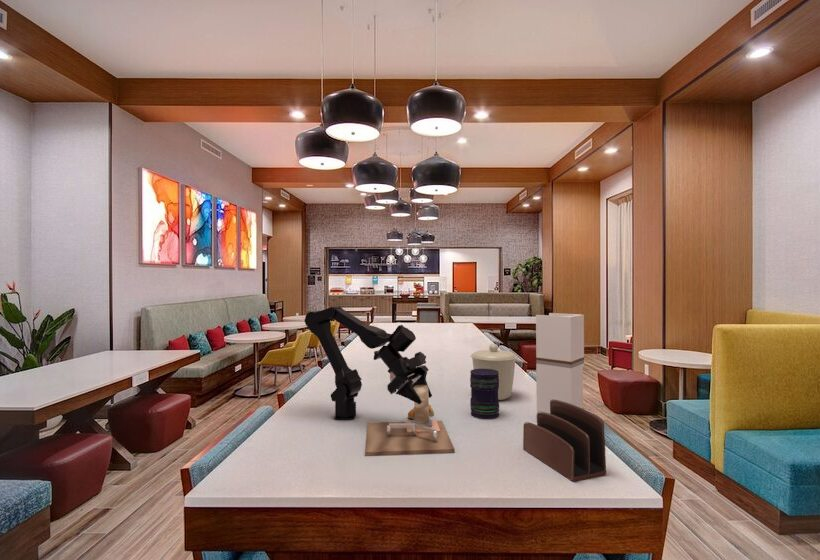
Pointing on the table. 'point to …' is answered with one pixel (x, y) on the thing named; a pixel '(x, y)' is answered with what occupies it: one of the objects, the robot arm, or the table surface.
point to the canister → (497, 367)
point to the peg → (422, 406)
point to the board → (405, 441)
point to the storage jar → (484, 393)
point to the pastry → (412, 412)
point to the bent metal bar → (414, 427)
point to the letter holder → (568, 441)
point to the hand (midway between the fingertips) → (426, 400)
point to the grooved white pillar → (559, 359)
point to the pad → (434, 425)
